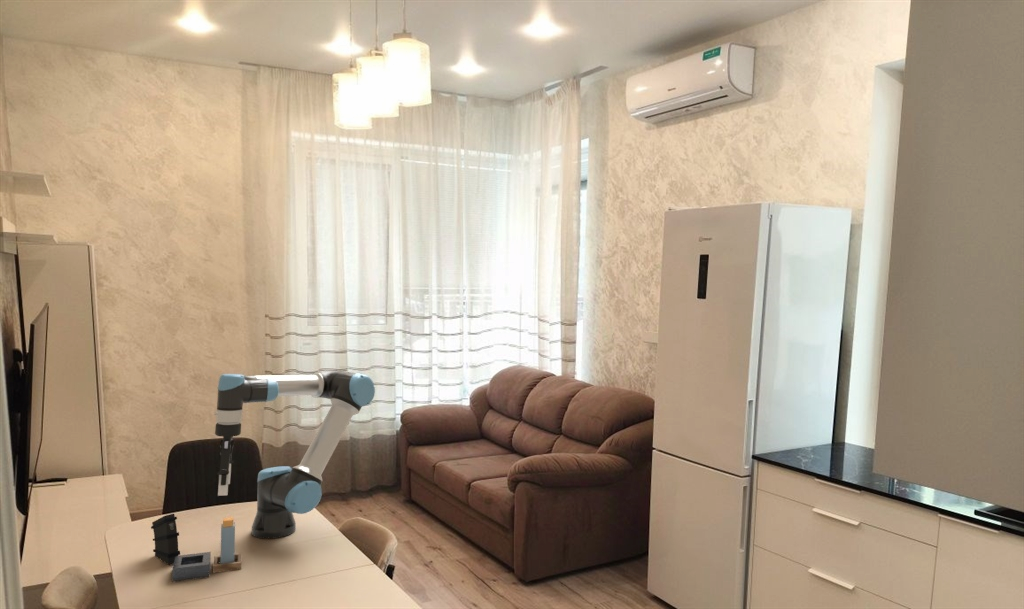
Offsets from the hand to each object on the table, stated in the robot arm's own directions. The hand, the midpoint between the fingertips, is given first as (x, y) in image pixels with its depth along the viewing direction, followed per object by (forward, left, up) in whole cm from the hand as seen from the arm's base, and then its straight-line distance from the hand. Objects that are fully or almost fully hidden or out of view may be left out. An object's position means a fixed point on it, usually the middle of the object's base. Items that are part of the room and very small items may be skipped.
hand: (224, 489), depth 204 cm
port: (+9, +3, -24) cm, 26 cm away
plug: (-1, +1, -24) cm, 24 cm away
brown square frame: (-1, +1, -24) cm, 24 cm away
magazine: (+17, -11, -24) cm, 32 cm away
